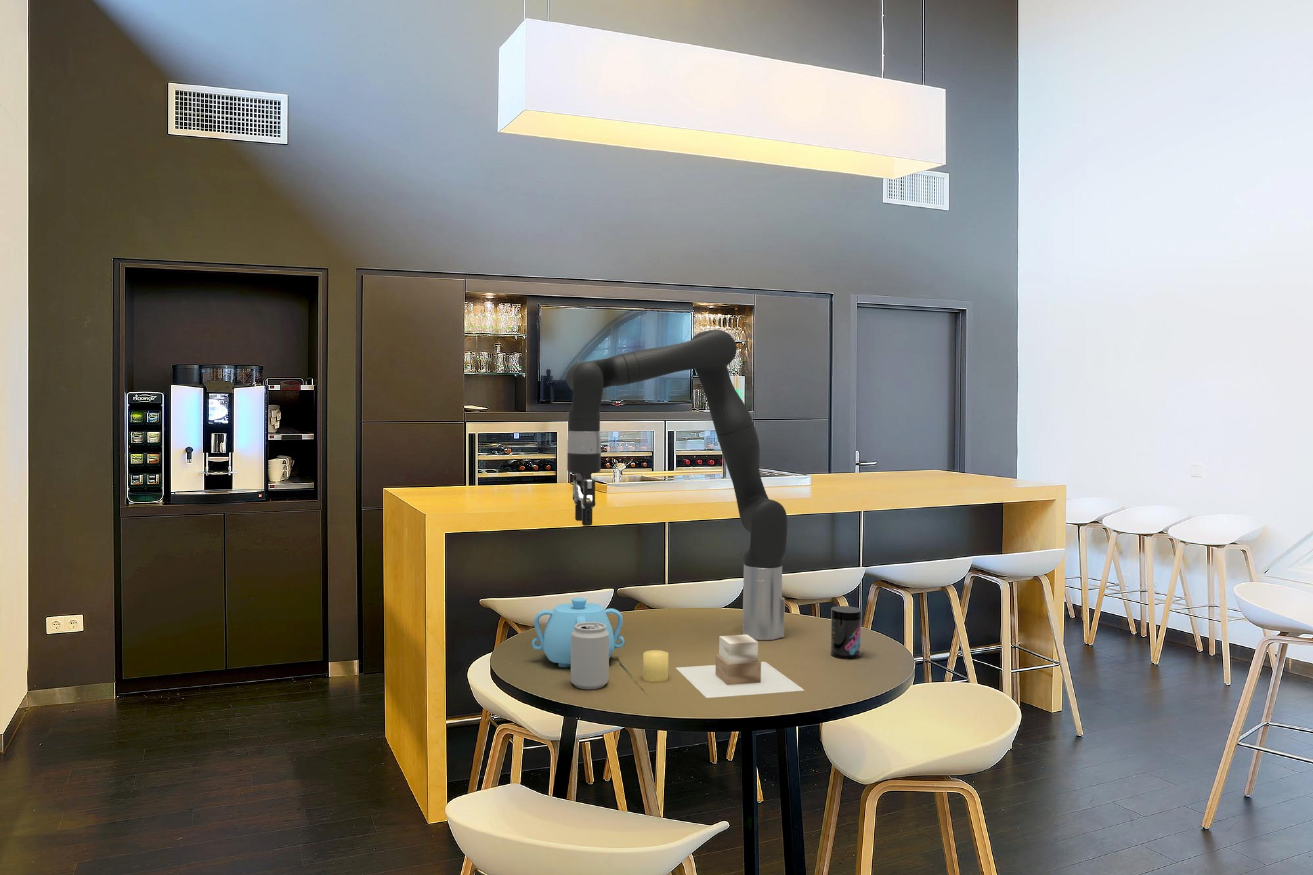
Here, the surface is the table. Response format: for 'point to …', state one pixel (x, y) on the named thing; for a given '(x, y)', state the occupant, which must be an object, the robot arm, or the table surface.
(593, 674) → the can
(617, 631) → the decorative pot
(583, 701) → the table surface
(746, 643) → the top block
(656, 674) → the cylinder
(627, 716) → the table surface
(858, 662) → the table surface
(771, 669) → the board
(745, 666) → the bottom block
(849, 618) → the supplement container
